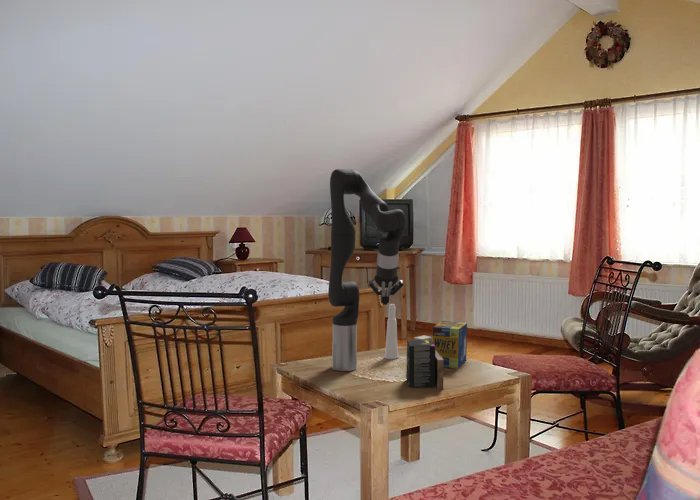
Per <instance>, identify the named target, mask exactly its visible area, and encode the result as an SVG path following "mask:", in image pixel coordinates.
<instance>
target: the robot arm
mask: <svg viewBox="0 0 700 500" xmlns="http://www.w3.org/2000/svg"><path fill="white" fill-rule="evenodd" d="M329 189H330V190H329V192H330V193H329V194H330V207H331V226H330V227H331V229H330V253H331V254H330V270H329V280H328V281H329V282H328V290H327V291H328V301H329V303H330V305H331V306H332V307H337V308H338V307H343V309H342V310H341V311H340V312H339V313H337V314H335V315H333V317H332V348H331V351H332V353H331V354H332V355H331V358H332V361H331V364H332V365H331V368H332V371H338V372H339V371H340V372H350V371H355V370H357V365H358V364H357V363H358V359H357V356H358V355H357V354H358V351H357V349H358V347H357V346H358V318H359V311H360V310H359V307H360V288H359V286H358V284H357V282H356V281H353V280H352V281H349V280H348V281H347V280H346V281H343V273H344V270H345V267H346V265H347V263H348V262H349V260H350V259H351V257H352V256H353V254H354V252H355V249H356V236H357V235H356V232H357V231H356V227H355V225H354V223H353V220H352V219H351V217H350V215H349V214H348V212H347V209H346V207H345V196H344V195H355V196H357V197H358V198H360V199H359V203H360V207H361V208H362V210H363V211H364V212H365V213H366V214H367V215H368V216H369V217H370V218H371V220H372V221H373V223H374V226H375V228H376V230H377V231H378V232H381V233H383V234H382V235H380V237H379V238H378V251H377V254H376V255H377V257H376V268H375V269H376V271H375V276H374V279H372V280H371V279H370V280H368V285H369V287H370V288H371V290H372V291H373V292H374V293H375V294H376V295H377V296H380V302H381V304H382V305H384V306H386V305H388V304H389V303H390V296H394V295H396V293H398V292H399V290H401V289H402V288H403V286H404V285H405V284H404V282H403V281H404V280H403V279H400V278H399V276H398V273H399V272H398V271H399V270H398V269H399V263H400V262H399V261H400V260H399V248H400V241H401V239H402V237H403V234H404V231H405V228H406V224H407V217H406V214H405V212H404V211H403V210H402V209H400V208H399V209H398V208H396V209H391V210H390V209H389V206H388V204H387V203H386V202H385V201H384V200H383V199H381V198H380V196H378V195H377V193H375V192H374V191H373V190H372V189H371V187H370V186H369V184H368V183H367V182H366V180H365V179H364V177H363V176H362V175H361V173H360V172H359V171H357V170H355V169H341V168H339V169H338V168H337V169H334V170H332V171H331V174H330V179H329ZM377 285H378V286H379V287H380V288H379V287H378V286H377Z"/></svg>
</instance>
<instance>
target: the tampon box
mask: <svg viewBox="0 0 700 500" xmlns="http://www.w3.org/2000/svg"><path fill="white" fill-rule="evenodd" d="M405 374H406V377H405V378H406V379H407V380H406V383H407V385H408V388H427V389H428V388H436V386H435V345H434V343H433V339H432V340H414V339H413V340H412V339H407V340H406V373H405Z"/></svg>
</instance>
